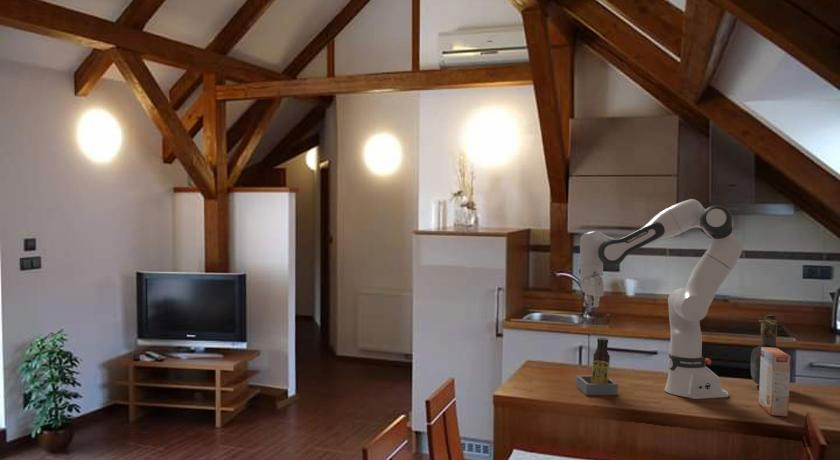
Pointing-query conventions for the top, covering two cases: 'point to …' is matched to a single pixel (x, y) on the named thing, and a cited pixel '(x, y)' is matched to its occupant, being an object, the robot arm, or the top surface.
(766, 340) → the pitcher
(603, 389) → the bottle collar
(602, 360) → the sauce bottle
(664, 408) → the top surface
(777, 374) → the cracker box
